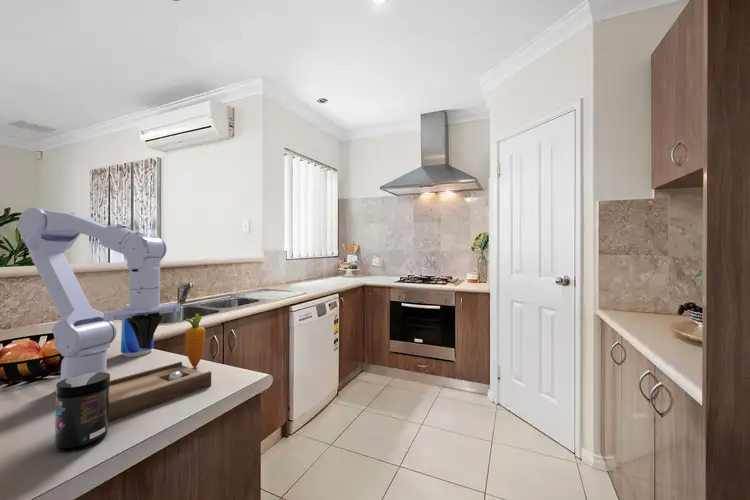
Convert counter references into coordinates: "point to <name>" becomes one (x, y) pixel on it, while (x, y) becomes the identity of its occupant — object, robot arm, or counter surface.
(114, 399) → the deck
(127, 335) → the beer can
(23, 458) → the counter surface
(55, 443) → the supplement container
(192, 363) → the carrot
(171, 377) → the ball
